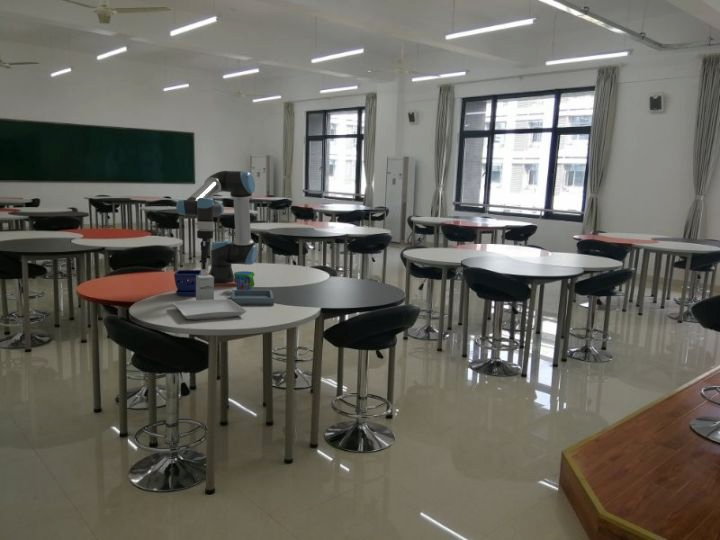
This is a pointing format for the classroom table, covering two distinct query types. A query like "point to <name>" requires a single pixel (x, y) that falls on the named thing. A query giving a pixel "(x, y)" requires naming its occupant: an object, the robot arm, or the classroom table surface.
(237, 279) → the snack cup
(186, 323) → the classroom table surface
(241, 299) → the tray
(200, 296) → the supplement box
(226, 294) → the classroom table surface
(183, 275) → the flower pot
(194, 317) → the square plate
